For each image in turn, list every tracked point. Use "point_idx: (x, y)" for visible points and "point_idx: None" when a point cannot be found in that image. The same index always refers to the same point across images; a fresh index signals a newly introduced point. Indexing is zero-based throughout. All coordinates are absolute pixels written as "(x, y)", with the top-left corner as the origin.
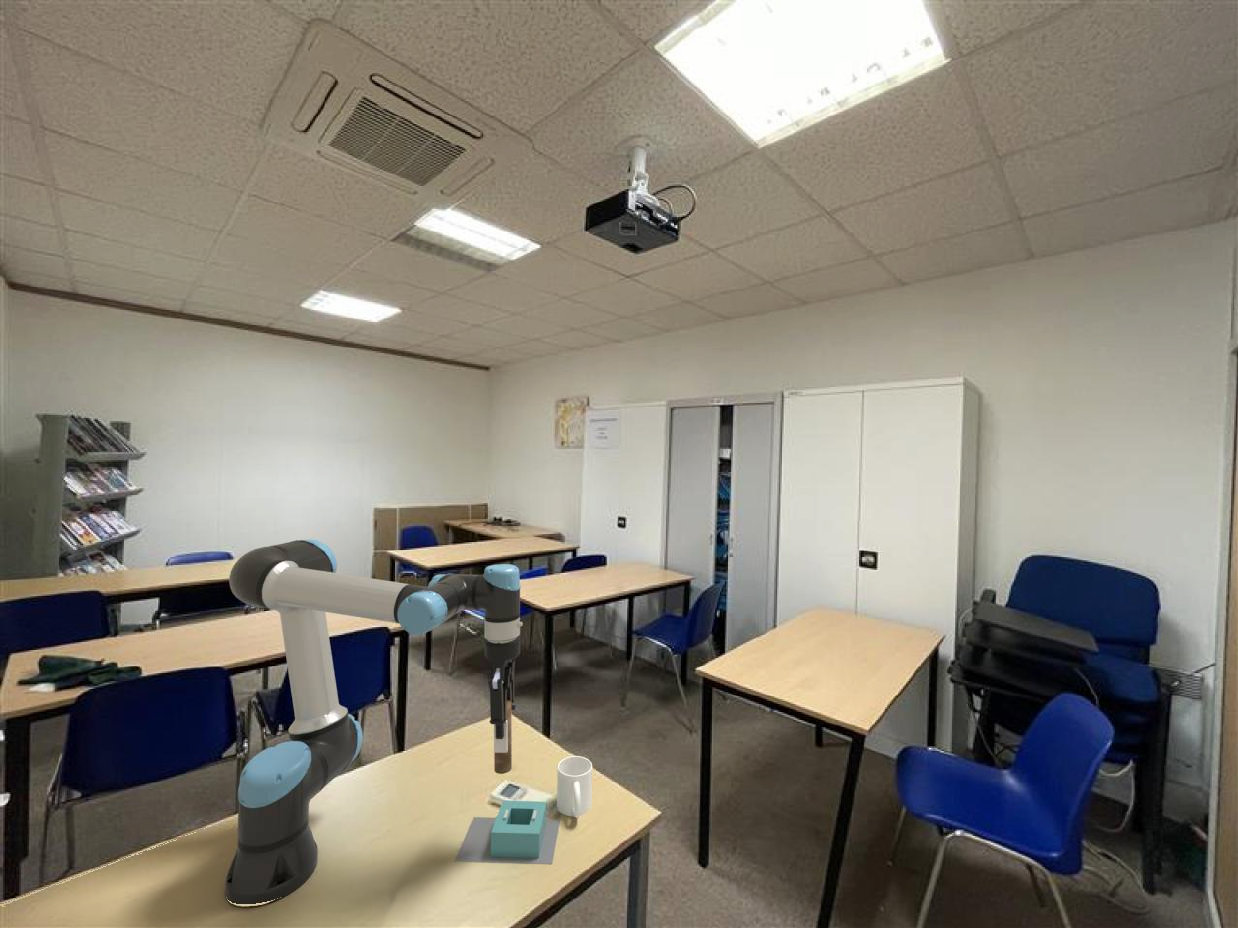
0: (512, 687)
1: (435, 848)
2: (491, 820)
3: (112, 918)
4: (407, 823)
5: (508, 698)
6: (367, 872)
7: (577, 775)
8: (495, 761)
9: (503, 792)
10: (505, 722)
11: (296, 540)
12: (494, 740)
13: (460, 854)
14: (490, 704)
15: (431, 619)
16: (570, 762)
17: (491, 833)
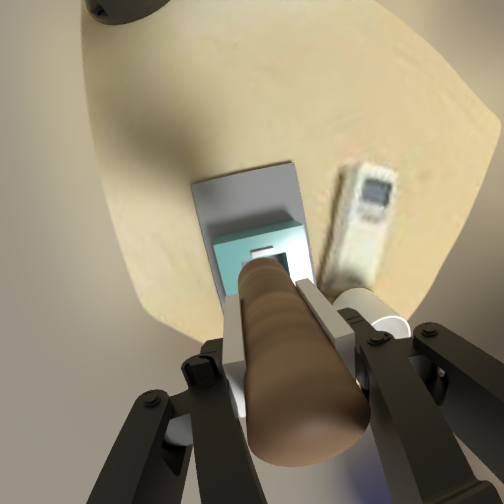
0: (456, 434)
1: (217, 133)
2: (294, 197)
3: None
4: (257, 61)
5: (375, 433)
6: (152, 72)
7: (391, 322)
8: (243, 277)
9: (370, 182)
10: (238, 410)
11: None
12: (224, 317)
13: (206, 185)
14: (91, 492)
15: None
16: (402, 322)
17: (213, 245)
